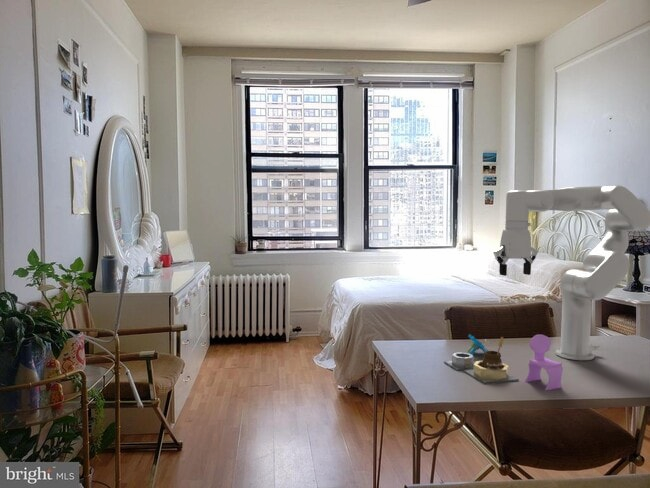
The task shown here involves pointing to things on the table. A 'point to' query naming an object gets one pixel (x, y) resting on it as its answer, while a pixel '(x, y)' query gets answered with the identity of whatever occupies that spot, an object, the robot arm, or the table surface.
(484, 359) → the utensil holder
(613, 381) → the table surface
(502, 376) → the wide socket
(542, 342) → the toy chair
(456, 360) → the narrow socket
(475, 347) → the gear
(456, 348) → the table surface
